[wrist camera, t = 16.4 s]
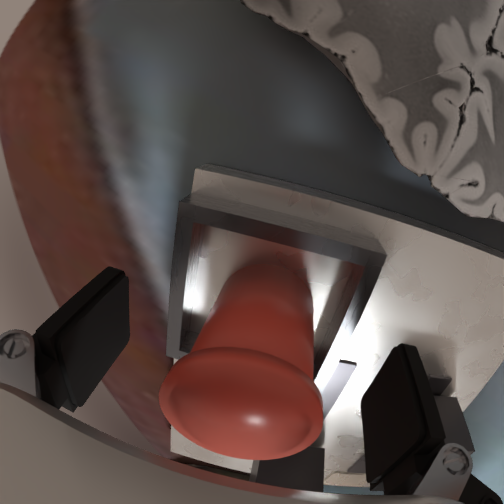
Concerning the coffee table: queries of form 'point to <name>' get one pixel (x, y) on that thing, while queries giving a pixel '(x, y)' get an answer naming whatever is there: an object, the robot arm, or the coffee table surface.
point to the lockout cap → (250, 370)
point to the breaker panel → (340, 295)
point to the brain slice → (421, 83)
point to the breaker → (292, 470)
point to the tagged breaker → (454, 422)
